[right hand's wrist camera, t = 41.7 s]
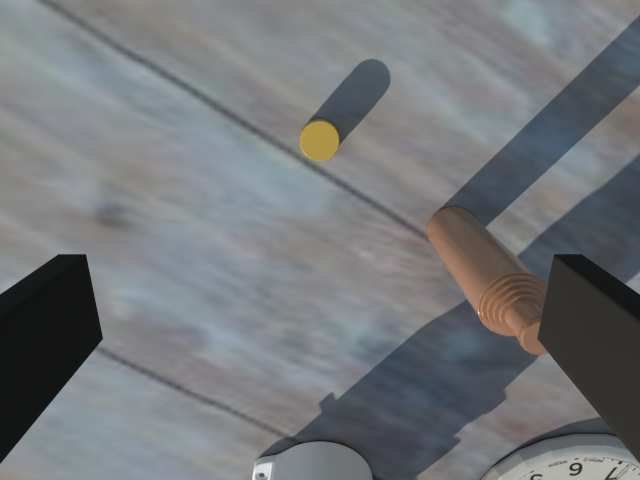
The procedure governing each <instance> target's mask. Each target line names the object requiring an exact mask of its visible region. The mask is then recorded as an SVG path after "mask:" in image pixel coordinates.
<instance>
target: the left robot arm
mask: <svg viewBox="0 0 640 480" xmlns="http://www.w3.org/2000/svg"><path fill="white" fill-rule="evenodd" d="M252 480H373V477H372V473H371V470H370V467H369V465H368V464H367V462H366V461H365V460H364V458H363V457H362V456H360V455H359V454H358V453H357V452H355V451H354V450H352V449H350V448H348V447H346V446H343V445H340V444H337V443H332V442H324V441H315V442H307V443H303V444H299V445H296V446H294V447H291V448H289V449H287V450H286V451H284V452H282V453H280V454H277V455H271V456H265V457H261V458H259V459H257V460H256V461H255V463H254V469H253V475H252Z"/></svg>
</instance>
